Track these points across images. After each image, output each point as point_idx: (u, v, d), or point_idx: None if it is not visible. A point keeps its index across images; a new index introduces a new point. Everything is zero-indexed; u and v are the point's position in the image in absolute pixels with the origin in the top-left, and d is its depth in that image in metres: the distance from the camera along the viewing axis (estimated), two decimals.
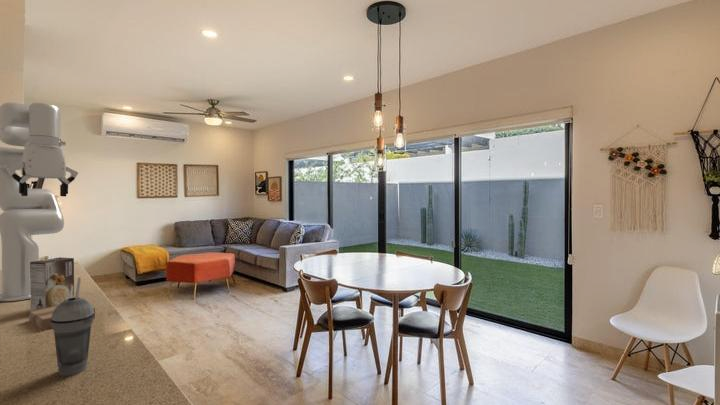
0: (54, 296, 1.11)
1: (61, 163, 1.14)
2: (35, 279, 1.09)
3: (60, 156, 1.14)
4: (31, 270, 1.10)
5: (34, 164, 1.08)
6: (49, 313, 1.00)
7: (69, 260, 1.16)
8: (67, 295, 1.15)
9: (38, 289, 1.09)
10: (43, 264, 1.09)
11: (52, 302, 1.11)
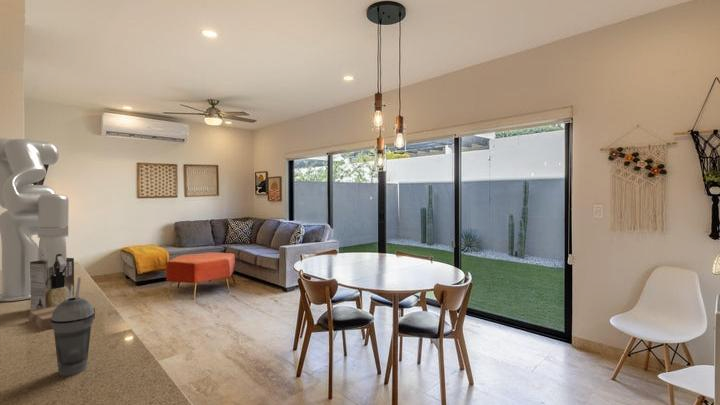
0: (54, 296, 1.11)
1: None
2: (35, 279, 1.09)
3: None
4: (31, 270, 1.10)
5: None
6: (49, 313, 1.00)
7: (69, 260, 1.16)
8: (67, 295, 1.15)
9: (38, 289, 1.09)
10: (43, 264, 1.09)
11: (52, 302, 1.11)
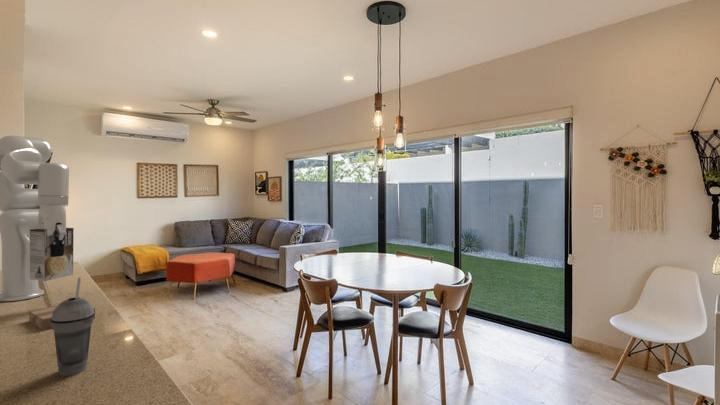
0: (53, 264, 1.11)
1: None
2: (34, 246, 1.09)
3: None
4: (30, 237, 1.10)
5: None
6: (49, 313, 1.00)
7: (69, 230, 1.16)
8: (66, 264, 1.15)
9: (38, 256, 1.09)
10: (43, 232, 1.09)
11: (51, 270, 1.11)
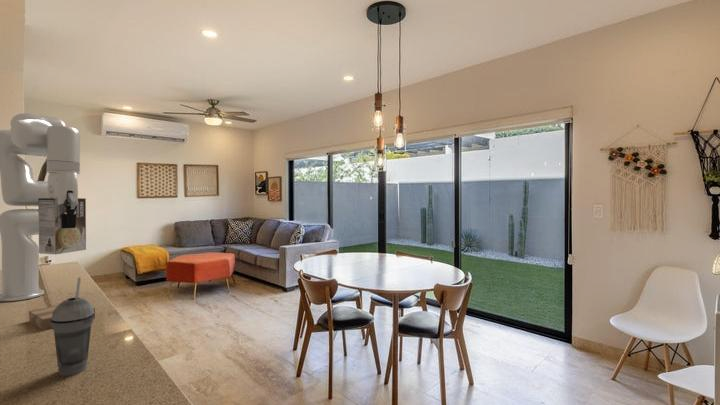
0: (64, 237, 1.01)
1: None
2: (44, 217, 0.99)
3: None
4: (39, 207, 1.00)
5: None
6: (49, 313, 1.00)
7: (81, 200, 1.06)
8: (79, 238, 1.05)
9: (48, 227, 0.99)
10: (53, 200, 0.99)
11: (62, 243, 1.01)
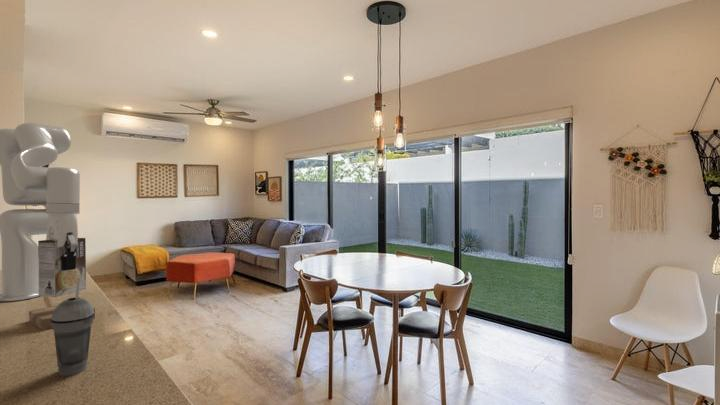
0: (64, 278, 1.01)
1: None
2: (44, 259, 0.99)
3: None
4: (39, 250, 1.00)
5: None
6: (49, 313, 1.00)
7: (80, 240, 1.06)
8: None
9: (47, 270, 0.99)
10: (52, 243, 0.99)
11: (62, 285, 1.01)
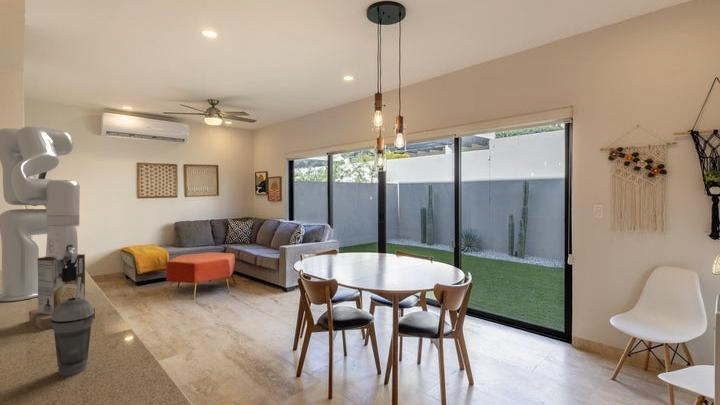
0: (63, 296, 1.01)
1: None
2: (43, 277, 1.00)
3: None
4: (39, 267, 1.00)
5: None
6: None
7: (80, 257, 1.06)
8: None
9: (46, 288, 1.00)
10: (51, 261, 0.99)
11: None
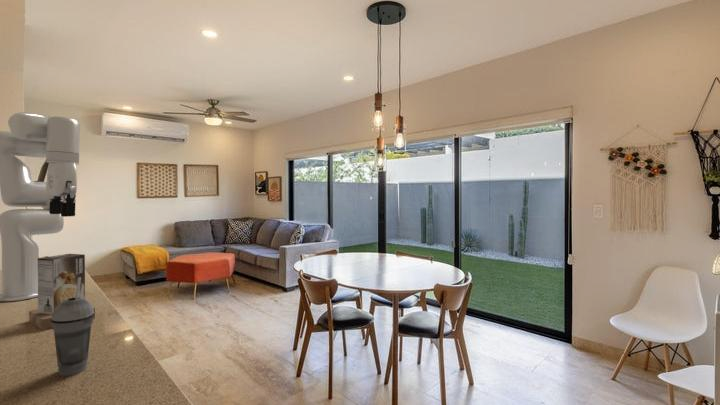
0: (63, 296, 1.01)
1: None
2: (43, 277, 1.00)
3: None
4: (39, 267, 1.00)
5: None
6: None
7: (80, 257, 1.06)
8: None
9: (46, 288, 1.00)
10: (51, 261, 0.99)
11: None
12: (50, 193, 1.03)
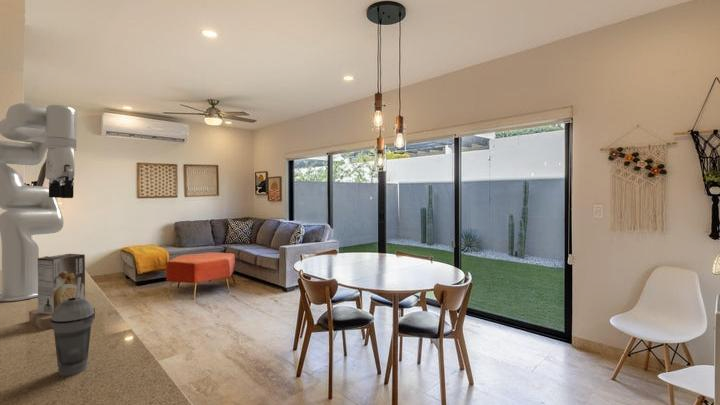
0: (63, 296, 1.01)
1: None
2: (43, 277, 1.00)
3: None
4: (39, 267, 1.00)
5: None
6: None
7: (80, 257, 1.06)
8: None
9: (46, 288, 1.00)
10: (51, 261, 0.99)
11: None
12: (49, 177, 1.10)
